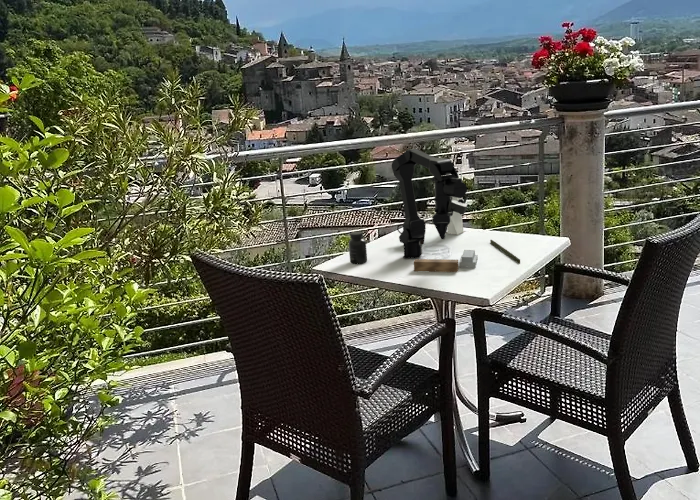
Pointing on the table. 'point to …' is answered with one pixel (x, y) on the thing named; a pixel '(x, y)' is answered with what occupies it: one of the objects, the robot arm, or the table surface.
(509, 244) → the table surface
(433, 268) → the walnut rod
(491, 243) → the rod
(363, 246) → the supplement bottle
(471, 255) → the ridge block
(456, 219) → the skyscraper
